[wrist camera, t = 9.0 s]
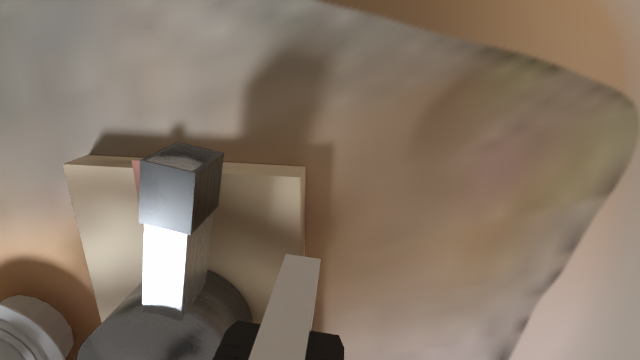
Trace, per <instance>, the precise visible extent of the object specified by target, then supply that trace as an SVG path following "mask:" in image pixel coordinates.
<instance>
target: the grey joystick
mask: <svg viewBox="0 0 640 360" xmlns="http://www.w3.org/2000/svg"><path fill="white" fill-rule="evenodd" d="M73 345H74V341H73V334H72V328H71V327H70V326H69V324H68V323H67V321H66V320H65V318H64V317H63V315H62V314H61V313H59V312H58V311H57V310H56V309H54V308H53V307H52V306H51V305H49V304H48V303H46V302H44V301H41V300H39V299H37V298H35V297H29V296H23V295H16V296H12V297H8V298H5V299H4V300H2V301H1V302H0V360H65V357H66V356H67V355H68V354H69V352H70V350H71V349H72V347H73Z"/></svg>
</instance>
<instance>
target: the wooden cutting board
mask: <svg viewBox="0 0 640 360" xmlns="http://www.w3.org/2000/svg"><path fill="white" fill-rule="evenodd" d="M141 159H143V158H136V157H117V156H98V155H86V156H84V157H81V158H78V159H75V160H73V161H70V162H67V163H64V164H63V168H64V172H65V176H66V180H67V184H68V188H69V192H70V197H71V201H72V205H73V209H74V213H75V217H76V221H77V225H78V229H79V233H80V237H81V241H82V246H83V250H84V254H85V258H86V262H87V266H88V270H89V274H90V278H91V282H92V286H93V291H94V295H95V299H96V303H97V307H98V311H99V315H100V319H101V323H102V322H103V321H104V320H105V319H106V318H107V317H108V316H109V315H110V314H111V313H112V312H113V311H114V310H115V309H116V308H117V307H118V306H119V305H120V304H121V303H122V302H123V301H124V300H125V298H126V297H127V296H128V295H129V294H130V293H131V292H132V291H133V290H134V289H135V288H136V287H137V286H138V285H139V284H140V283H141V282H142V281H143V255H144V224H141V223H139V178H140V160H141ZM305 198H306V167H305V166H287V165H268V164H249V163H230V162H223V167H222V176H221V185H220V194H219V204H218V207H217V208H216V209H215V210H214V211H213V219H212V228H211V238H210V247H209V257H208V266H207V270H210V271H212V272H214V273H216V274H218V275H220V276H222V277H223V278H225V279H226V280H227V281H229V282H230V283H231V284H232V285H234V286H235V287H236V288H237V289H238V291H239V292H240V293H241V294H242V296H243V297H244V298H245V300H246V302H247V303H248V305H249V308H250V310H251V313H252V318H253V323H258V324H261V323H262V320H263V317H264V314H265V311H266V309H267V306H268V303H269V300H270V297H271V294H272V292H273V289H274V286H275V283H276V280H277V278H278V275H279V272H280V269H281V266H282V263H283V261H284V258H285V255H286V254H290V255H297V256H304V257H305Z"/></svg>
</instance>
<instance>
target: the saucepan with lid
mask: <svg viewBox="0 0 640 360" xmlns="http://www.w3.org/2000/svg"><path fill="white" fill-rule="evenodd" d="M223 158H224V153H223V152H218V151H214V150H210V149H205V148H201V147H197V146H192V145H188V144H184V143H179V142H177V143H175V144H173V145H171V146H169V147H167V148H164V149H162V150H160V151H158V152H156V153H154V154H152V155H150V156H148V157H145V158H143V159H141V160H140V178H139V223H141V224H144V255H143V281H142V282H141V283H140V284H139V285H138V286H137V287H136V288H135V289H134V290H133V291H132V292H131V293H130V294H129V295H128V296H127V297H126V298H125V300H124V301H123V302H122V303H121V304H120V305H119V306H118V307H117V308H116V309H115V310H114V311H113V312H112V313H111V314H110V315H109V316H108V317H107V318H106V319H105V320H104V321H103V322H102V323H101V324H100V325H99V326H98V327H97V328H96V330H95V331H94V332H93V333H92V334H91V335H90V336H89V337H88V338H87V339H86V340H85V341H84V342H83V344H82V345H81V347H80V349H79V352H78V355H77V360H212V359H213V357H214V356H215V353H216V351H217V349H218V346H219V345H220V342H221V340H222V338H223V336H224V334H225V332H226V330H227V329H228V328H229V327H230V326H232V325H233V324H234V323H235V322H236V321H237V320H239V321H245V322H251V323H253V318H252V313H251V310H250V308H249V305H248V303H247V302H246V300H245V298H244V297H243V296H242V294H241V293H240V292H239V291H238V289H237V288H236V287H235V286H234V285H232V284H231V283H230V282H229V281H227V280H226V279H225V278H223V277H222V276H220V275H218V274H216V273H214V272H212V271H210V270H207V266H208V257H209V247H210V238H211V228H212V219H213V211H214V210H215V209H216V208H217V207H218V204H219V194H220V185H221V176H222V167H223Z"/></svg>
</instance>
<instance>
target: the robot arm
mask: <svg viewBox="0 0 640 360" xmlns="http://www.w3.org/2000/svg"><path fill="white" fill-rule="evenodd" d="M320 263H321V259H318V258H311V257H304V256H297V255H290V254H286V255H285V258H284V261H283V263H282V266H281V269H280V272H279V275H278V278H277V280H276V283H275V286H274V289H273V292H272V294H271V297H270V300H269V303H268V306H267V309H266V311H265V314H264V317H263V320H262V323H261V324H258V323H251V322H245V321H239V320H237V321H236V322H235V323H234V324H233V325H232V326H230V327H229V328H228V329H227V330H226V332H225V334H224V336H223V338H222V340H221V342H220V345H219V346H218V349H217V351H216V353H215V356H214V357H213V359H212V360H344V347H343V344H342V342H341V340H340V337H339V335H333V334H327V333H321V332H314V331H311V329H312V323H313V316H314V310H315V302H316V294H317V286H318V278H319V271H320Z"/></svg>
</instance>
